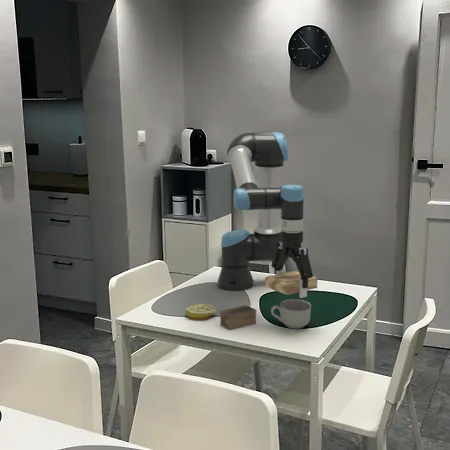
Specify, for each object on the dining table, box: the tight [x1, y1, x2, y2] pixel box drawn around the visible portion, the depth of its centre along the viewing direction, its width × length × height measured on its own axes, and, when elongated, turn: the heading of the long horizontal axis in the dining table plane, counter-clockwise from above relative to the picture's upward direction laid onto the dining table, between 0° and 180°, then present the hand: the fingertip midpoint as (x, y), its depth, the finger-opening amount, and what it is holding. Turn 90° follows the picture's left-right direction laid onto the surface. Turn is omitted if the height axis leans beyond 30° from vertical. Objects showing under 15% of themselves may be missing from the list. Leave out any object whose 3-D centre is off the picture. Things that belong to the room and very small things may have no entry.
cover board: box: [264, 270, 318, 296], centre depth 210 cm, size 12×14×4 cm
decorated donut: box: [185, 303, 217, 321], centre depth 223 cm, size 10×11×4 cm
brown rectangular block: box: [219, 304, 258, 331], centre depth 214 cm, size 6×11×5 cm, turn 125°
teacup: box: [270, 298, 312, 330], centre depth 212 cm, size 14×11×8 cm
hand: (291, 292), depth 210 cm, fingers closed on cover board, 11 cm apart
